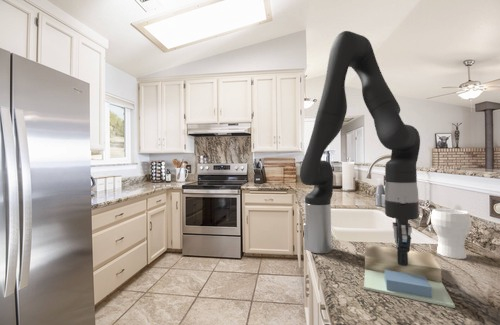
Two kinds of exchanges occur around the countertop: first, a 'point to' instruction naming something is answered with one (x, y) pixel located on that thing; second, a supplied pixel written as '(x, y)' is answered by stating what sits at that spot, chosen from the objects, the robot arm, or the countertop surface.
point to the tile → (408, 283)
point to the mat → (377, 284)
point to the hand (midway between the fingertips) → (402, 264)
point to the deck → (387, 260)
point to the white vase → (451, 231)
